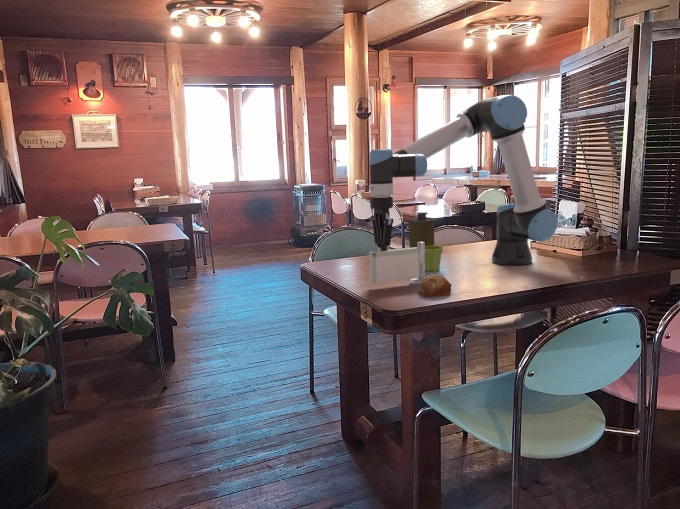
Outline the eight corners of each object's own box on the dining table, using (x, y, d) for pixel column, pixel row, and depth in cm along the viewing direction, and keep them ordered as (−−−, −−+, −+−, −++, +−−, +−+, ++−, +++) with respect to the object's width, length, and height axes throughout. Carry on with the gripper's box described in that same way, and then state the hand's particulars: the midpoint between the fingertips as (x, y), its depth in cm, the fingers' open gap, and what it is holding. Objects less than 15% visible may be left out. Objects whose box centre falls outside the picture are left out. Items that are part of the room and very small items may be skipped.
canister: (434, 258, 233) (433, 211, 230) (435, 263, 223) (435, 213, 220) (408, 259, 235) (407, 211, 231) (408, 264, 224) (407, 214, 221)
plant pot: (428, 273, 205) (428, 250, 204) (413, 269, 213) (413, 247, 212) (448, 270, 209) (448, 247, 208) (433, 266, 218) (433, 244, 216)
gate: (416, 277, 192) (416, 246, 190) (418, 277, 190) (418, 247, 188) (370, 282, 186) (369, 251, 184) (372, 283, 184) (371, 252, 183)
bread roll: (421, 301, 182) (410, 280, 180) (449, 286, 182) (438, 265, 180) (428, 309, 172) (417, 287, 171) (458, 293, 172) (447, 271, 171)
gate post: (433, 281, 193) (432, 241, 190) (425, 285, 188) (425, 244, 185) (417, 279, 196) (417, 240, 194) (409, 283, 191) (409, 243, 189)
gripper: (363, 195, 190) (365, 263, 194) (379, 198, 178) (380, 270, 182) (383, 194, 192) (384, 261, 197) (400, 197, 181) (401, 268, 185)
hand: (382, 265), depth 190 cm, fingers closed
